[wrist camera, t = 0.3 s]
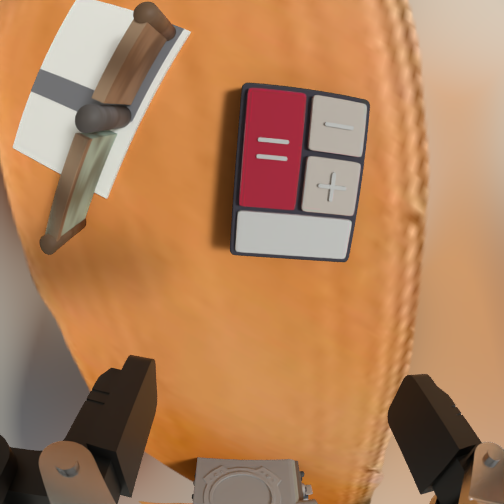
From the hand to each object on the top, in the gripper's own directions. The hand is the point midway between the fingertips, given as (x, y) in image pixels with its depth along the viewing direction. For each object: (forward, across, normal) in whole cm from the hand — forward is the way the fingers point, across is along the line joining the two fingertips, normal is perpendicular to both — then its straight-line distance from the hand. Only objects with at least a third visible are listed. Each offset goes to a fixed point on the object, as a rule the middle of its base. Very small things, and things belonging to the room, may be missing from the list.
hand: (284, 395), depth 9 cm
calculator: (+23, -3, -6) cm, 24 cm away
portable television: (+29, -6, +48) cm, 56 cm away
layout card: (+21, +18, -12) cm, 30 cm away
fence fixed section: (+21, +12, -14) cm, 28 cm away
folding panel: (+21, +17, -3) cm, 27 cm away
